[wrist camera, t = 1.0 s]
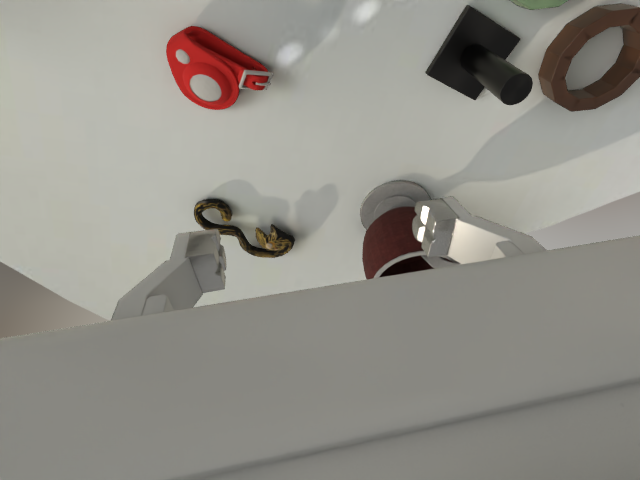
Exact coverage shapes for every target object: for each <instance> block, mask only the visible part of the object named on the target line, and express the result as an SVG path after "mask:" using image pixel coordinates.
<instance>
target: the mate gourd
mask: <svg viewBox="0 0 640 480" xmlns="http://www.w3.org/2000/svg"><path fill="white" fill-rule="evenodd" d="M427 200H430V198H429V196H428V194H427V192H426V191H425V190H424V189H423V188H422V187H421V186H419V185H418V184H416V183H413V182H410V181H392V182H388V183H385V184H382V185H380V186H378V187H377V188H375V189H374V190H372V191H371V192H370V193H369V194H368V195H367V196H366V198H365V199H364V201H363V203H362V205H361V209H360V217H361V222H362V224H363V226H364V227H365V228H366V230H367V231H366V234H365V237H364V242H363V258H362V259H363V265H364V271H365V276H366V279H373V278H380V277H386V276H392V275H398V274H404V273H411V272H417V271H423V270H429V269H435V268H441V267H448V266H454V265H460V263H459V262H457V261H455V260H454V259H452V258H451V257H449V256H447V255H441V256H433V257H428V256H427V255H426V253H425V252H424V250H423V249H422V247H421V246H422V243H421V242H419V241H417V240H416V238H415V237H414V234H413V230H412V222H413V219H414V217H415V216H416V215H417V214H416V212H415V211H414V209H415V205H416V203H417V202H420V201H427Z"/></svg>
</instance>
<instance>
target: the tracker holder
mask: <svg viewBox="0 0 640 480" xmlns="http://www.w3.org/2000/svg"><path fill="white" fill-rule="evenodd" d="M166 53H167V59H168V62H169V65H170V68H171V71H172V74H173V76H174V78H175V81H176V83H177V85H178V86H179V88H180V90H181V91H182V93H183V94H184V95H185V96H186V97H187V98H188V99H190V100H191V101H192V102H194V103H196V104H198V105H200V106H202V107H205V108H208V109H214V110H220V109H225V108H228V107H230V106H231V105H233V104H234V103H235V102H236V100H237V98H238V95H239V88H240V89H253V90H267V87H268V85H271V83H270V81H271V78H272V76H273V73H272V72H268V70H267V69H266V68H265V67H264V66H263V65H262V64H261V63H259V62H257V61H256V60H254V59H252V58H251V57H249V56H247V55H245V54H244V53H242V52H240V51H239V50H237V49H235V48H234V47H232V46H231V45H229V44H227V43H226V42H224V41H223V40H221V39H219V38H218V37H216V36H215V35H213V34H211V33H210V32H208V31H207V30H205V29H203V28H200V27H196V26H191V27H188V28H186V29H184V30H182V31H180V32H179V33H177V34H175V35H174V36H172V37H171V38H170V40H169V41H168V44H167V49H166Z"/></svg>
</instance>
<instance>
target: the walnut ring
mask: <svg viewBox="0 0 640 480" xmlns="http://www.w3.org/2000/svg"><path fill="white" fill-rule="evenodd" d="M615 26H620V27H621V28H623V40H624V45H623V48H622V50H621V52H620V54H619V56H618V59H617V61H616V63H615V64H614V65H613V66H612V67H611V68H610V69H609V70H608V71H607V73H606V74H605V75H604V76H603V77H602V78H601V79H600V80H598V81H596V82H594V83H593V84H591V85H589V86H587V87H585V88H583V89H580V90H570V91H568V90H567V85H566V80H565V76H566V74H567V71H568V68H569V66H570V63H571V60H572V58H573V57H574V56H575V55H576V54H577V52H578V51H579V50H580V49H581V48H582V47H583V45H584V44H585V43H586V42H587V41H588V40H589V39H590V38H592V37H594V36H595V35H597V34H599V33H601V32H602V31H604V30H606V29H607V28H609V27H615ZM538 76H539V80H540V84H541V88H542V92H543V94H544V95H545V96H547V97H548V98H550V99H551V100H553V101H554V102H556V103H557V104H559V105H561V106H562V107H564V108H566V109H568V110H569V111H581V110H591V109H596V108H598V107H600V106H602V105H604V104H605V103H607V102H609V101H611V100H613V99H615V98H617V97H619V96H620V95H622V94H623V93H624V92H625V91H626V90H627V89H628V88H629V87H630V86H631V85H632V84H633V83H634V82H635V81H636V80H637V79H638V78H639V77H640V7H635V6H631V5H626V4H612V5H604V6H595V7H593V8H592V9H590V10H589V11H587V12H585V13H584V14H582V15H581V16H579V17H577V18H576V19H574V20H573V21H571V22H570V23H568V24H567V25H566V26H565V27H564V28H563V30H562V31H561V32H560V33H559V34H558V36H557V37H556V38H555V39H554V41H553V42H552V43H551V44H550V46H549V47H548V48H547V50H546V52H545V55H544V59H543V62H542V65H541V68H540V71H539V74H538Z"/></svg>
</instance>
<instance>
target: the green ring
mask: <svg viewBox="0 0 640 480" xmlns="http://www.w3.org/2000/svg"><path fill="white" fill-rule="evenodd" d="M510 1H512V2H513V3H515V4H516V5H518V6H521V7H524V8H527V9H530V10H534V9H542V8H551V7H559V6H560V5H562V4H563V3H565V2H567V1H568V0H510Z"/></svg>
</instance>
